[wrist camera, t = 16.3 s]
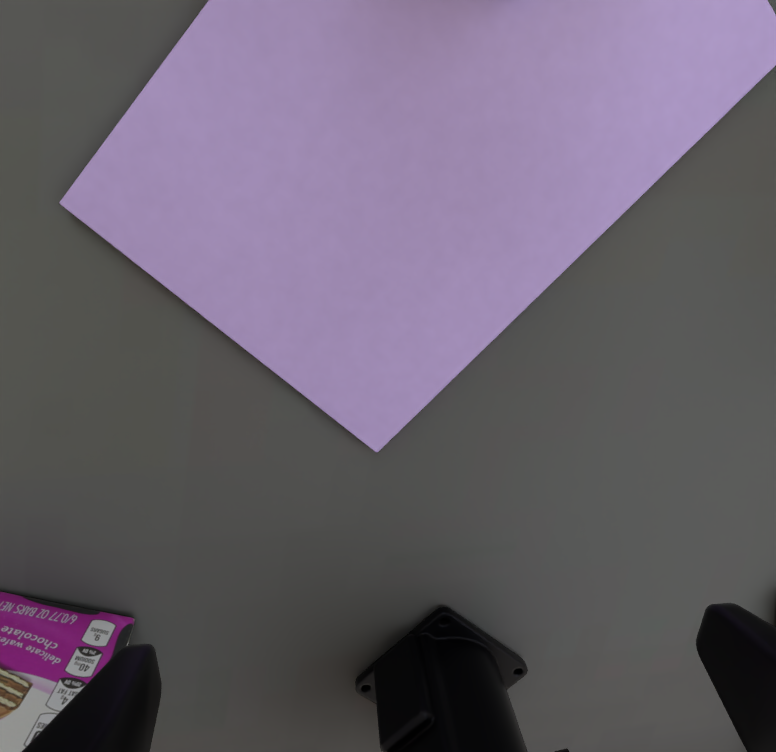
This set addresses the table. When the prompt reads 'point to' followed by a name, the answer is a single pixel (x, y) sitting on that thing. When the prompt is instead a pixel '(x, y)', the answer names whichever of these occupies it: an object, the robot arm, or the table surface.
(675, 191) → the table surface
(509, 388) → the table surface
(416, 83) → the mat
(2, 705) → the candy bar box
